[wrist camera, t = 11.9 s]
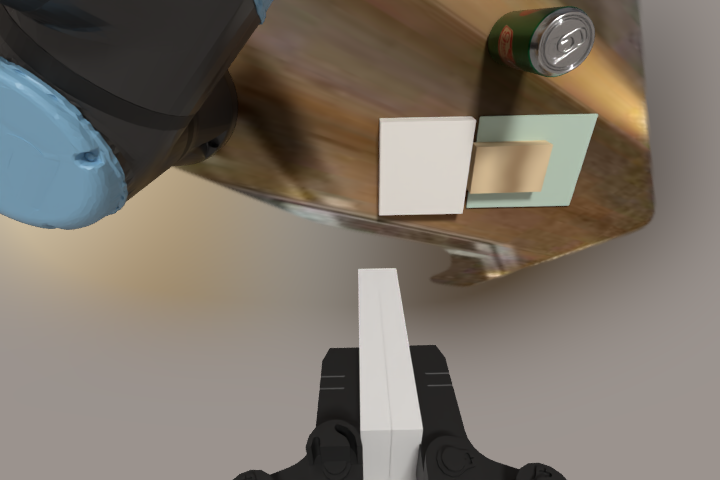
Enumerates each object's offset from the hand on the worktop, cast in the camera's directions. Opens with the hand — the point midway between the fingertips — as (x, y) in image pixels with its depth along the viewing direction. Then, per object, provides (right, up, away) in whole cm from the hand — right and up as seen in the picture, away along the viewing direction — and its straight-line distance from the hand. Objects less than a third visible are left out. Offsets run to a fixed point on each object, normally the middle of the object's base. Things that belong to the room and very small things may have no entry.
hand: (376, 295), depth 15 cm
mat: (+21, +12, +31) cm, 39 cm away
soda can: (+15, +24, +24) cm, 37 cm away
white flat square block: (+7, +12, +31) cm, 34 cm away
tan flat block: (+18, +12, +31) cm, 37 cm away
